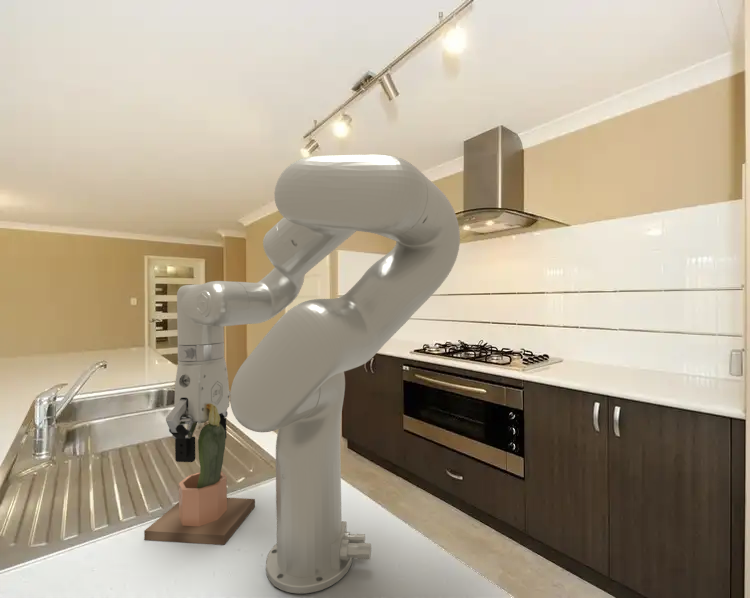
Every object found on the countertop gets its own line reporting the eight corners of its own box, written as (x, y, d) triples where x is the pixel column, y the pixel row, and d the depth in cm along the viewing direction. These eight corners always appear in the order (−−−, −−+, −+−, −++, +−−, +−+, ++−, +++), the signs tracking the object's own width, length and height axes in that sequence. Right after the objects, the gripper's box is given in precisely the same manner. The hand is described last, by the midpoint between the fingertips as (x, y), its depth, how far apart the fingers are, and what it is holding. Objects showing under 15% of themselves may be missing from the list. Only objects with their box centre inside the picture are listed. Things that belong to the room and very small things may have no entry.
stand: (254, 506, 69) (254, 498, 69) (224, 544, 58) (224, 535, 58) (186, 503, 71) (186, 495, 71) (144, 539, 60) (144, 530, 60)
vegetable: (221, 501, 67) (234, 400, 64) (211, 519, 63) (224, 411, 60) (196, 498, 67) (208, 396, 64) (185, 515, 62) (197, 407, 60)
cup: (232, 503, 68) (232, 471, 68) (210, 527, 61) (210, 490, 61) (196, 501, 69) (196, 469, 69) (171, 524, 61) (170, 489, 62)
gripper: (191, 360, 56) (192, 472, 56) (244, 347, 73) (245, 432, 73) (146, 361, 57) (147, 471, 57) (209, 347, 74) (210, 432, 74)
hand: (202, 449), depth 65 cm, fingers open, 9 cm apart
